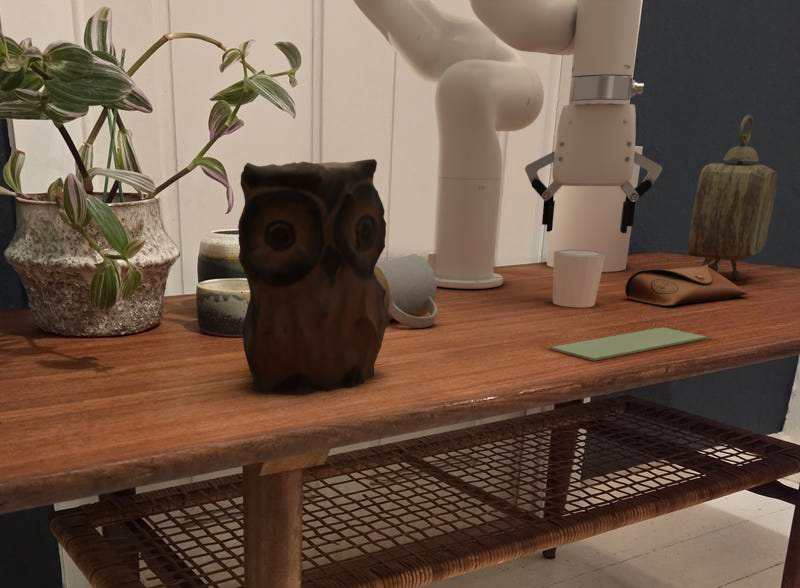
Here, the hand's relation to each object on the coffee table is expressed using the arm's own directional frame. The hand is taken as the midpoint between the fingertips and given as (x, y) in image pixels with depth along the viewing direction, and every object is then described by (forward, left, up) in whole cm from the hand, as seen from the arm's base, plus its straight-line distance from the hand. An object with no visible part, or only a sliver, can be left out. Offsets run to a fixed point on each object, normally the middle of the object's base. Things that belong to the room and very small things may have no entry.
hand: (585, 231), depth 119 cm
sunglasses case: (+15, +10, -10) cm, 21 cm away
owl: (-25, -48, -10) cm, 55 cm away
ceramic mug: (-22, -19, -10) cm, 30 cm away
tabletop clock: (+23, +31, -10) cm, 40 cm away
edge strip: (+6, -23, -10) cm, 26 cm away
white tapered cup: (0, 0, -10) cm, 10 cm away
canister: (+2, +38, -10) cm, 40 cm away
